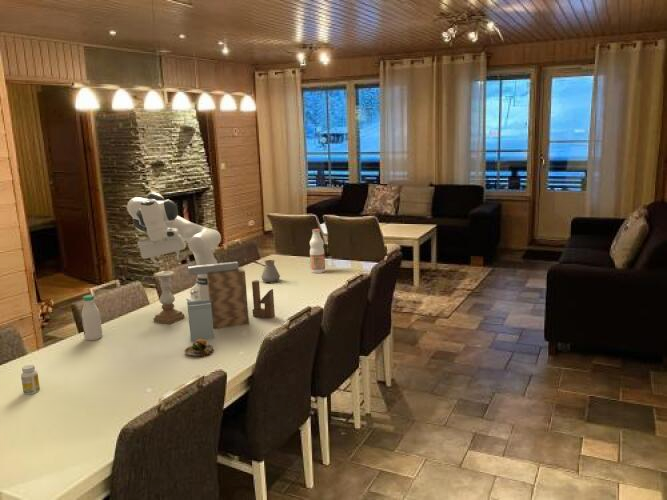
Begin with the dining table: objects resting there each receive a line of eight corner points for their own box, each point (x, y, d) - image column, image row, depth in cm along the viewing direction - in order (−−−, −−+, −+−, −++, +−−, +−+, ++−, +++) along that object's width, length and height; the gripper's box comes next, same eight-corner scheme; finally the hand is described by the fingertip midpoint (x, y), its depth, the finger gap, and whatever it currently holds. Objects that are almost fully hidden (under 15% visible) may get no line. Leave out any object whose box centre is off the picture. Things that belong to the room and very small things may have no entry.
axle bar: (188, 275, 261) (188, 268, 260) (188, 273, 264) (187, 266, 264) (238, 270, 267) (238, 262, 266) (237, 268, 271) (237, 261, 270)
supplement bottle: (27, 396, 202) (23, 371, 200) (21, 392, 205) (17, 367, 203) (42, 390, 206) (38, 366, 204) (36, 387, 209) (32, 362, 207)
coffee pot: (282, 278, 354) (280, 255, 351) (277, 283, 343) (276, 259, 340) (249, 279, 357) (247, 255, 354) (243, 283, 346) (242, 259, 343)
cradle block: (191, 341, 250) (187, 306, 247) (190, 335, 258) (187, 301, 255) (214, 338, 253) (211, 303, 250) (212, 332, 261) (209, 299, 257)
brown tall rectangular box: (212, 328, 265) (208, 275, 260) (211, 322, 275) (206, 270, 270) (249, 324, 270) (244, 271, 265) (246, 318, 279) (242, 266, 274)
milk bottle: (106, 335, 263) (101, 294, 259) (94, 341, 255) (88, 298, 252) (93, 334, 265) (87, 293, 261) (80, 340, 258) (75, 298, 254)
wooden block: (271, 318, 277) (269, 282, 274) (252, 316, 282) (250, 281, 278) (275, 316, 281) (272, 281, 277) (256, 314, 285) (253, 279, 281)
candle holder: (185, 317, 285) (180, 271, 280) (170, 324, 275) (165, 276, 270) (168, 315, 289) (163, 270, 285) (153, 322, 280) (147, 275, 275)
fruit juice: (307, 272, 369) (305, 229, 363) (318, 269, 375) (316, 227, 370) (317, 274, 362) (315, 231, 357) (328, 271, 369) (326, 229, 363)
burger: (182, 351, 240) (181, 334, 238) (210, 346, 244) (209, 329, 242) (187, 361, 229) (185, 343, 227) (216, 355, 233) (215, 338, 232)
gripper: (134, 241, 254) (144, 270, 258) (179, 230, 256) (188, 259, 259) (137, 238, 261) (146, 266, 264) (181, 227, 262) (189, 255, 265)
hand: (167, 262), depth 262 cm, fingers open, 8 cm apart
